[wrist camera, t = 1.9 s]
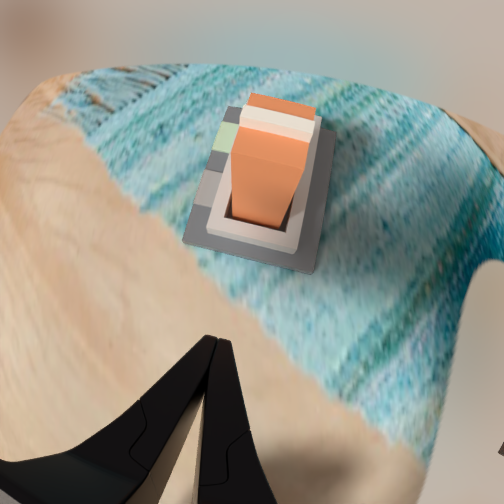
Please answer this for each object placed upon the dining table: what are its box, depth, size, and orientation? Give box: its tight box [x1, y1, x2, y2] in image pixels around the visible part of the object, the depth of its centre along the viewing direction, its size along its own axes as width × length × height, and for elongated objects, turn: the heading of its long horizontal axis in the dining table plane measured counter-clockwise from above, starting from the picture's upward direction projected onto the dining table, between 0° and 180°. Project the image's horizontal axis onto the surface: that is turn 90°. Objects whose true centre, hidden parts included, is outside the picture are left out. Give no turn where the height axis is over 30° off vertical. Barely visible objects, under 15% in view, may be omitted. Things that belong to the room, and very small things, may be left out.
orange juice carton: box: [231, 93, 316, 230], centre depth 19 cm, size 4×4×10 cm
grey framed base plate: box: [182, 99, 336, 275], centre depth 24 cm, size 13×10×2 cm
